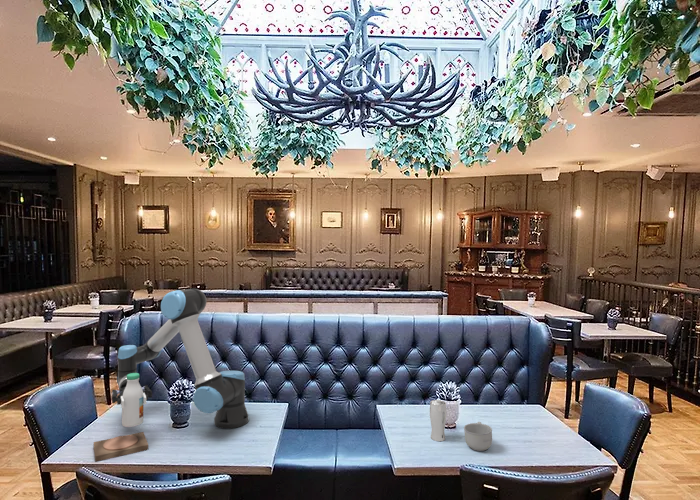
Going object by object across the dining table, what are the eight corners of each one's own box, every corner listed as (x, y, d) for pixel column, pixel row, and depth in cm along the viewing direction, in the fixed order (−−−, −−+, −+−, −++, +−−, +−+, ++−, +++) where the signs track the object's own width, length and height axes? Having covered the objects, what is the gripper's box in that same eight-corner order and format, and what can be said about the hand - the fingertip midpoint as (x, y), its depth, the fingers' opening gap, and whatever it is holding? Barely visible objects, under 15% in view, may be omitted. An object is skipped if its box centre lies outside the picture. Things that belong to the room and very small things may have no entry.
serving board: (143, 436, 180) (143, 430, 180) (148, 449, 168) (148, 443, 168) (93, 447, 170) (93, 440, 170) (95, 461, 158) (95, 454, 158)
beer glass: (428, 440, 177) (428, 404, 177) (431, 433, 184) (431, 398, 184) (445, 443, 175) (445, 406, 175) (447, 436, 182) (447, 400, 182)
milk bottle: (134, 428, 167) (134, 377, 167) (117, 426, 169) (117, 376, 169) (147, 420, 175) (147, 372, 175) (131, 418, 177) (131, 370, 176)
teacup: (488, 456, 164) (488, 435, 164) (460, 449, 170) (460, 429, 170) (496, 442, 176) (496, 423, 176) (470, 436, 181) (470, 417, 181)
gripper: (153, 391, 193) (161, 407, 173) (102, 398, 182) (104, 417, 162) (154, 374, 193) (161, 389, 173) (102, 381, 182) (104, 397, 162)
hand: (134, 402), depth 168 cm, fingers closed on milk bottle, 7 cm apart
